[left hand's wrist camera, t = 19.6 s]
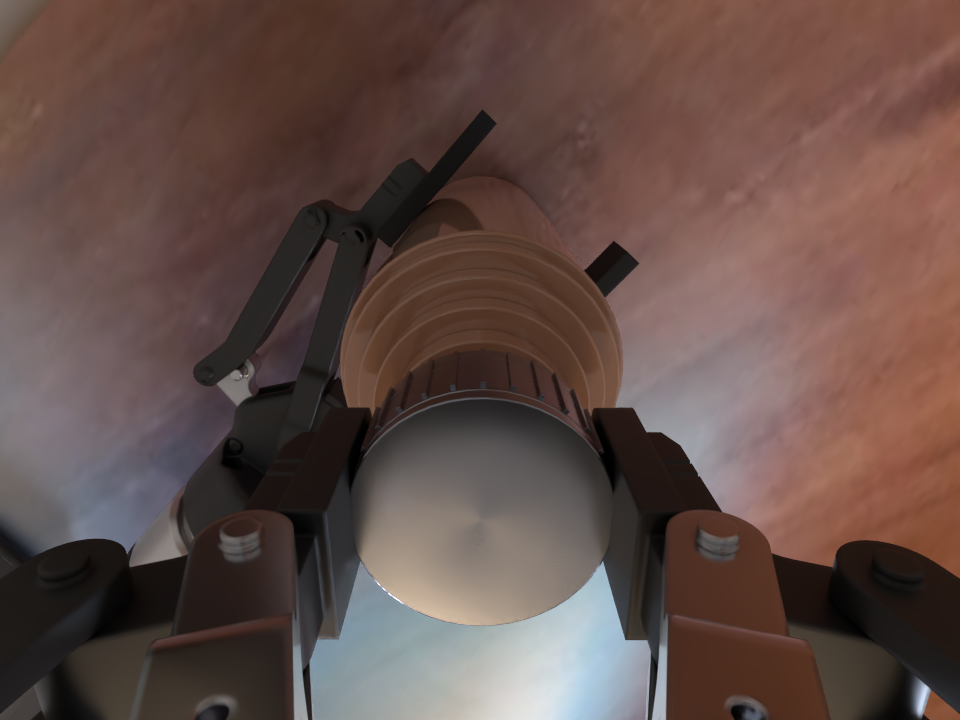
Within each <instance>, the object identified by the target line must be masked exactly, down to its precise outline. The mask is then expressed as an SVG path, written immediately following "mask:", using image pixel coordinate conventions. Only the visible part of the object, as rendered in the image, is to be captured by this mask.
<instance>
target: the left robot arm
mask: <svg viewBox="0 0 960 720" xmlns="http://www.w3.org/2000/svg"><path fill="white" fill-rule="evenodd" d="M591 418H592V421H593V423H594V426H595V428H596V431H597V434H598V436H599V439H600V442H601V444H602V447H603V449H604V452H605V453H604V454H602V456H603V459H604V461H605V464H606V467H607V470H608V472H609V475H610V477H611V481H612V485H613V490H614V492H613V505H612V516H611V528H610V539H609V549H608V551H607V554H606V555H605V557H604V559H603V562H604V566H605V570H606V573H607V577H608V580H609V584H610V587H611V591H612V594H613V598H614V601H615V605H616V608H617V612H618V615H619V619H620V622H621V626H622V630H623V633H624V637H625V640H648V644H649V647H650V650H651V655H650V663H649V671H648V685H647V704H646V720H929V719H928V718H927V717H926V716H925V715H924V714H923V713H924V710H925V707H926V704H927V701H928V698H929V695H930V692H931V690H932V691H933V692H935V693H936V694H937V695H938V696H939V697H940V698H942V699H943V700H944V701H945V702H946V703H947V704H949V705H950V706H951V707H952V708H953V709H954V710H956V711H957V712H958V713H959V714H960V578H958V577H957V576H955V575H954V574H952V573H950V572H949V571H947V570H946V569H944V568H943V567H941V566H940V565H938V564H937V563H935V562H934V561H932V560H930V559H928V558H927V557H925V556H923V555H921V554H919V553H917V552H914V551H912V550H909V549H907V548H904V547H901V546H898V545H894V544H890V543H885V542H879V541H869V540H861V541H853V542H849V543H846V544H844V545H843V546H841V547H840V548H839V549H838V550H837V553H836V556H835V560H834V565H833V567H828V566H823V565H818V564H813V563H808V562H803V561H798V560H793V559H789V558H785V557H781V556H778V555H775V554H772V553H771V549H770V545H769V542H768V540H767V539H766V537H765V536H764V535H763V534H762V533H761V532H760V531H759V530H758V529H757V528H756V527H754V526H753V525H751V524H750V523H748V522H746V521H744V520H742V519H740V518H738V517H735V516H733V515H730V514H727V513H723V512H722V511H721V509H720V508H719V506H718V505H717V503H716V501H715V500H714V498H713V497H712V495H711V493H710V492H709V490H708V489H707V487H706V486H705V484H704V482H703V481H702V479H701V478H700V477H698V473H697V471H696V470H695V468H694V467H693V465H692V464H690V460H689V459H688V457H687V455H686V454H685V452H684V451H683V449H682V448H681V446H680V445H679V444H677V443H676V442H674V441H673V440H671V439H670V438H668V437H667V436H666V435H664V434H663V433H661V432H646V431H645V429H644V427H643V425H642V423H641V422H640V420H639V418H638V416H637V414H636V412H635V411H634V409H633V408H594V409H593V411H592V415H591ZM371 419H372V414H371V410H370V408H369V407H331V408H330V409H329V411H328V413H327V415H326V416H325V418H324V420H323V422H322V424H321V426H320V428H319V430H318V431H317V432H302V433H300V434H299V435H297V436H296V437H294V438H293V439H291V440H290V441H288V442H287V443H286V444H284V445H283V446H282V448H281V450H280V451H279V453H278V454H277V456H276V458H275V459H274V463H272V464H271V466H270V467H269V469H268V471H267V472H266V476H264V477H263V479H262V480H261V482H260V483H259V485H258V487H257V488H256V490H255V491H254V493H253V495H252V496H251V498H250V500H249V501H248V503H247V504H246V506H245V508H244V509H243V511H242V512H237V513H233V514H230V515H227V516H225V517H222V518H220V519H218V520H216V521H214V522H212V523H210V524H209V525H207V526H206V527H204V528H203V529H202V530H201V531H200V532H199V533H198V534H197V535H196V536H195V537H194V539H193V540H192V542H191V545H190V549H189V553H188V554H187V555H184V556H181V557H176V558H172V559H167V560H162V561H158V562H153V563H148V564H143V565H138V566H133V567H130V566H129V562H128V557H127V553H126V551H125V548H124V547H123V546H122V545H121V544H119V543H117V542H115V541H112V540H107V539H85V540H79V541H74V542H70V543H66V544H63V545H60V546H57V547H54V548H52V549H49V550H47V551H44V552H42V553H40V554H38V555H36V556H35V557H33V558H31V559H30V560H28V561H26V562H25V563H23V564H22V565H20V566H19V567H17V568H16V569H14V570H13V571H11V572H10V573H8V574H6V575H5V576H3V577H2V578H0V714H1V713H2V712H3V711H4V710H6V709H7V708H8V707H9V706H10V705H11V704H13V703H14V702H15V701H16V700H17V699H18V698H20V697H21V696H22V695H23V694H24V693H25V692H27V691H28V690H29V689H30V688H31V687H32V686H34V688H35V691H36V694H37V697H38V700H39V703H40V706H41V709H42V710H41V711H40V712H39V713H38V714H36V715H35V716H34V717H33V718H32V719H31V720H314V704H313V685H312V671H311V663H310V659H311V657H312V654H313V650H314V647H315V644H316V641H317V639H339V636H340V633H341V629H342V625H343V622H344V618H345V614H346V611H347V607H348V604H349V600H350V596H351V593H352V589H353V585H354V582H355V578H356V575H357V571H358V567H359V564H360V559H359V557H358V555H357V552H356V550H355V545H354V533H353V521H352V510H351V498H350V485H351V482H352V480H353V477H354V474H355V470H356V467H357V464H358V461H359V458H360V456H361V453H362V452H361V451H360V448H361V446H362V443H363V440H364V438H365V435H366V432H367V430H368V427H369V424H370V422H371Z"/></svg>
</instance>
